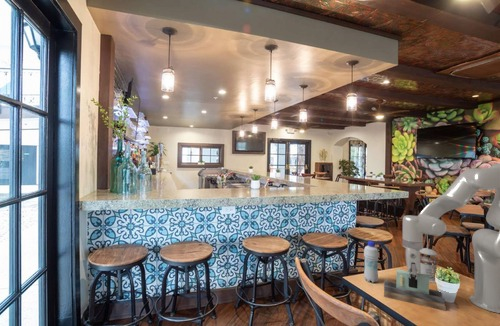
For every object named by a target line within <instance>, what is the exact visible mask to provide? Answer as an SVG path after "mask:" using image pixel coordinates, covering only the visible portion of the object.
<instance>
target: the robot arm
mask: <svg viewBox="0 0 500 326" xmlns="http://www.w3.org/2000/svg"><path fill="white" fill-rule="evenodd" d="M480 190H483V191H493V190H495V194H494V195H495V196H494V198H493V200H492V202H491V204H490V206H489V208H488V211H487V212H486V217H485V219H486V222H487V224H489V226H491V227H494V228H496V229H498V230H499V231H497V230H493V229H490V228H480V229H477V230H475V231H474V233H473V234H472V236H471V244H472V248H473V253H474V254H473V255H474V276H473V277H474V279H473V280H474V283H473V284H474V289H473V290H474V291H473V292H474V294H472V295H470V296H469V301H470V302H471V303H472V304H473V305H475V306H477V307H478V308H481V309H483V310H486V311H488V312H493V313H498V314H500V163H495V164H492V165H490V166H489V167H488V168H477V167H476V168H475V167H473V168H466V169H465V170H463V171H462V172H461V173H460V174H459V175H458V177H457V178H456V179H455V180H454V181H453V183H451V184H450V186H448V188H447V189H446V190H445V192H444V193H442V194H441V195H440V196H438V197H437V198H435V199H433V200H432V201H430V202H429V203H428V204H427V205H426V206H424V207H423V209H422V210H421V211H420V212H419V214H418V215H412V214H411V215H410V214H409V215H408V214H407V215H404V216H403V217H402V247H403V248H405V264H406V271H409V287H411V288H416V289H417V273H418V272H419V273H421V265H420V263H421V262H420V257H421V253H420V250H422V249H423V248H424V246H423V242H424V241H423V240H424V239H423V234H424V235H427V234H428V236H429V235H430V236H437V237H438V236H443V235H444V234H445V233H446V232H447V229H448V228H447V225H446V223H445V222H444V221H443V220H441V219H440V218H441V217H442V216H443V215H444V214H446V213H447V212H450V211H453V210H456V209H460V208H464V207H465V206H466V205H467V204H468V203H469V202H470V201H471V199H472V198H473V197H474V196H475V195H476V194H477V193H478V192H479V191H480ZM411 272H412V274H411Z"/></svg>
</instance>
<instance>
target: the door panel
mask: <svg viewBox="0 0 500 326" xmlns="http://www.w3.org/2000/svg"><path fill="white" fill-rule="evenodd" d="M411 274H412V272H411ZM395 279H396V288H399V289H404V290H409V291H414V292H419V293H423V294H428V295H429V289H430V282H429V276H428V275H426V274H420V273H418V272H417V289H416V288H411V287H409V271H408V270H403V269H398V268H396V277H395Z"/></svg>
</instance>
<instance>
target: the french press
mask: <svg viewBox="0 0 500 326" xmlns="http://www.w3.org/2000/svg"><path fill="white" fill-rule="evenodd" d="M428 238H429V234H426V243H427V244H426V247H423V249H422V250H420V254H422V255H426V256H420V265H421V273H420V274H426V275H428V276H429V283H431V282H432V284H433V283H435V273H436V274H437V272H436V271H437V267H438V265H439V262H437V263H436V261H437V260H436V259H435V258H436V257H437V259H439V255H438V253H437V252H436V251H435V250H433V249H432V248H429V247H428V246H429V245H428V243H429V241H428ZM428 256H431V258H430V257H428ZM432 257H434V258H432ZM417 273H419V272H417ZM435 284H436V283H435Z"/></svg>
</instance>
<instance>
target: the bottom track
mask: <svg viewBox="0 0 500 326" xmlns="http://www.w3.org/2000/svg"><path fill="white" fill-rule="evenodd" d="M383 283H384V285H383V296H384V298H389V299H393V300H396V301H401V302H406V303H409V304H414V305H419V306H424V307H428V308H432V309H436V310H441V311H446V310H447V309H446V308H447V307H446V305H445V301H446V300H445V298H444V297H443V293H441V292H442V291H441V292H439V291H440V290H436V289H430V288H429V295H428V294H423V293H419V292H414V291H409V290H404V289H399V288H396V282H395V281H390V280H387V279H386V280H384V281H383Z"/></svg>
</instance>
